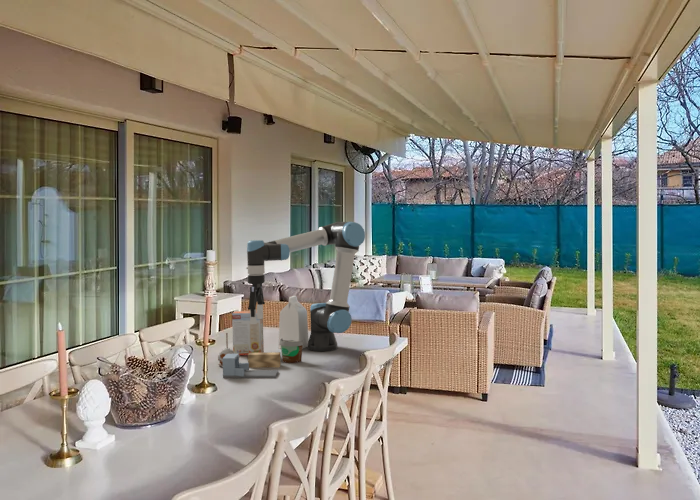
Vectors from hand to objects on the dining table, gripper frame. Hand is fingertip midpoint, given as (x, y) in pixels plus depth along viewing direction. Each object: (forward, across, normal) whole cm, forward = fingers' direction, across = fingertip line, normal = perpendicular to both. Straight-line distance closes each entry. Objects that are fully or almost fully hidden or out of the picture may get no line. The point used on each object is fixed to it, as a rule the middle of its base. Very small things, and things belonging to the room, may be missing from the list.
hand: (256, 321), depth 276 cm
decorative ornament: (+20, +2, -13) cm, 24 cm away
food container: (+20, -6, +14) cm, 25 cm away
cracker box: (+20, -20, -9) cm, 30 cm away
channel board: (+20, +18, +1) cm, 27 cm away
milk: (+20, -36, +10) cm, 43 cm away
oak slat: (+20, +3, +4) cm, 21 cm away
